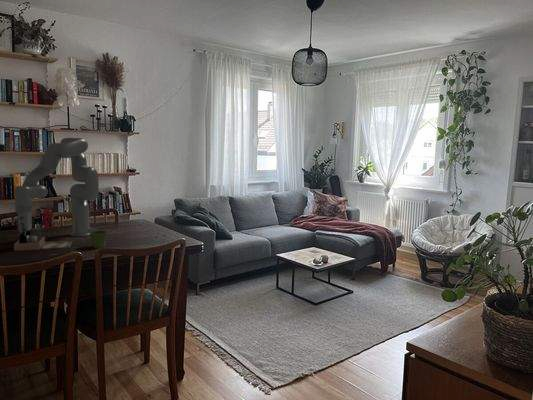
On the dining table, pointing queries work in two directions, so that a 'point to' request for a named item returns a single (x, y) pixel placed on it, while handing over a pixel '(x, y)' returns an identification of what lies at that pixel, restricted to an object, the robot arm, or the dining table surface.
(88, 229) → the robot arm
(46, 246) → the birch tray
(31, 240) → the pebble dark
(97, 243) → the plant pot
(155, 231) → the dining table surface
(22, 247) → the brown shallow rectangular tray
